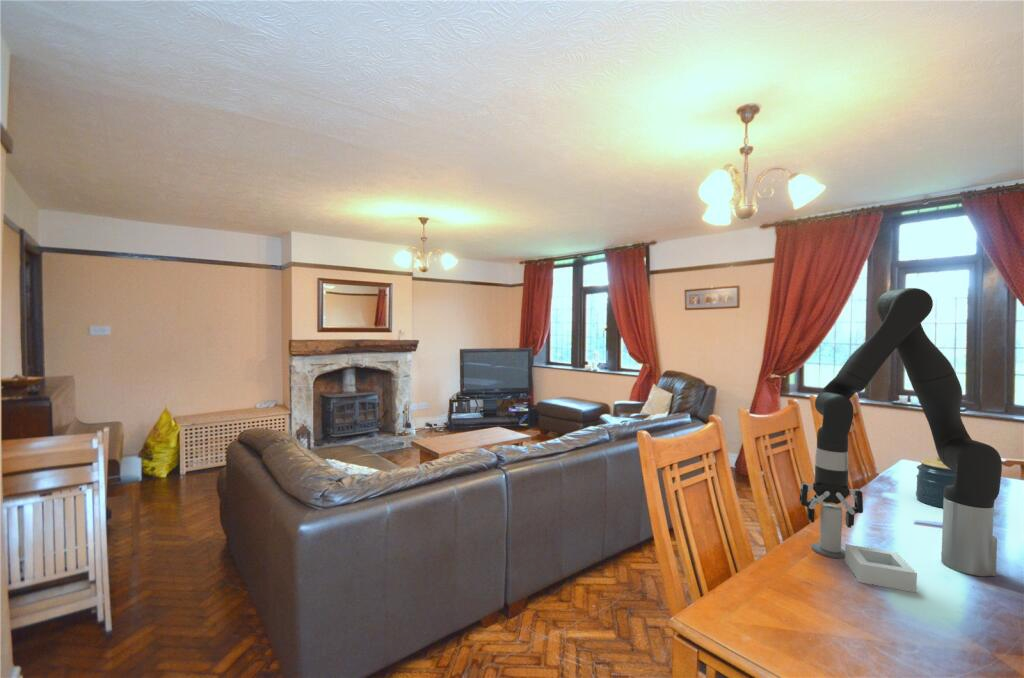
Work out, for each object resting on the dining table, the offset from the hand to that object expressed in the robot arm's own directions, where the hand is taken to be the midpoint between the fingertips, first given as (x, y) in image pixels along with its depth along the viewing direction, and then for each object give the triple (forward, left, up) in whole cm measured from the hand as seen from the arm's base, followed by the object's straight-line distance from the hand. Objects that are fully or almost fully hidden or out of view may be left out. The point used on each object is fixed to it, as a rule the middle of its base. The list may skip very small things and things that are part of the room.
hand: (829, 523), depth 126 cm
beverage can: (0, 0, -7) cm, 7 cm away
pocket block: (-8, +10, -8) cm, 15 cm away
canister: (-48, -59, -8) cm, 76 cm away
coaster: (0, 0, -8) cm, 8 cm away
